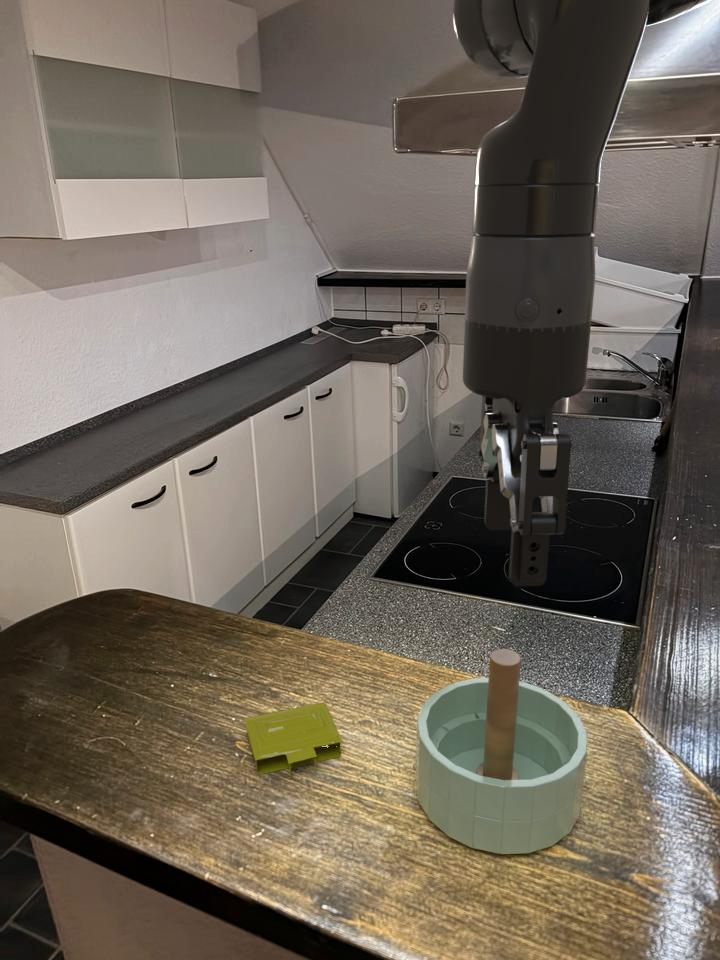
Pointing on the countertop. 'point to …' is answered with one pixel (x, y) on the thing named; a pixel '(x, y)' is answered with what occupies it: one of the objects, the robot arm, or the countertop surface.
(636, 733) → the countertop surface
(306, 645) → the countertop surface
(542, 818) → the bowl
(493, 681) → the stirring stick
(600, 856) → the countertop surface
